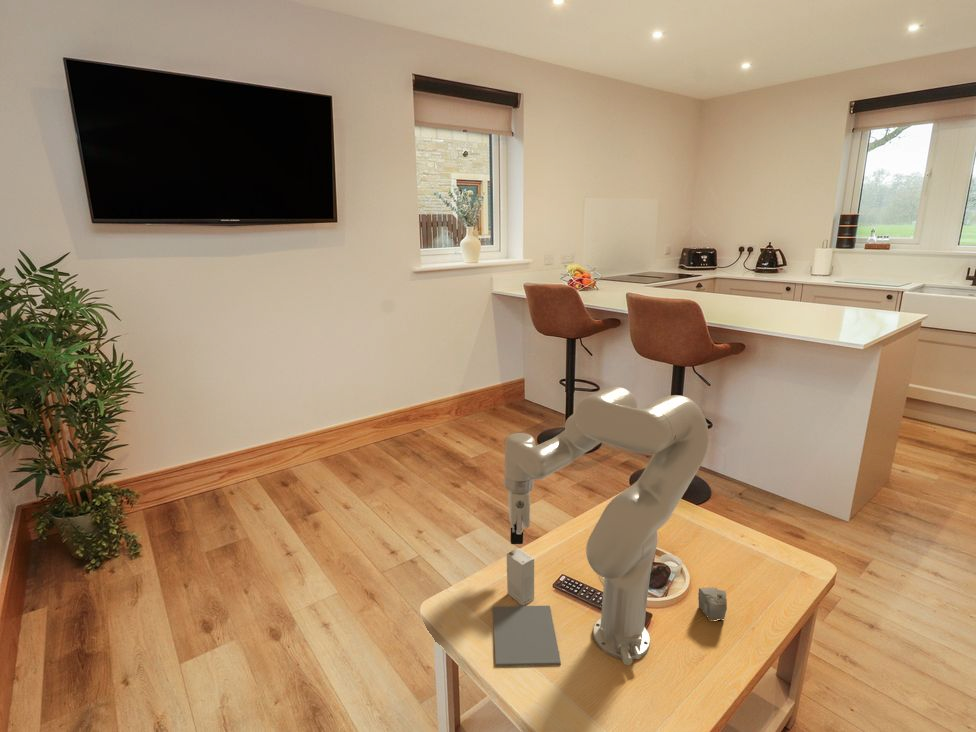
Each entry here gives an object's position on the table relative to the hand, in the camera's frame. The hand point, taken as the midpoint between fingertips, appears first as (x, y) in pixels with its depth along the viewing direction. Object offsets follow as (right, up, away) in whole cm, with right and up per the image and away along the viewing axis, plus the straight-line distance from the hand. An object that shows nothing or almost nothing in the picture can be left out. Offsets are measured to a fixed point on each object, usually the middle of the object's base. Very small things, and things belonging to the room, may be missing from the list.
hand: (516, 542), depth 139 cm
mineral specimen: (+47, -14, -13) cm, 50 cm away
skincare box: (+1, -12, -6) cm, 13 cm away
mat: (+1, -15, -18) cm, 24 cm away
